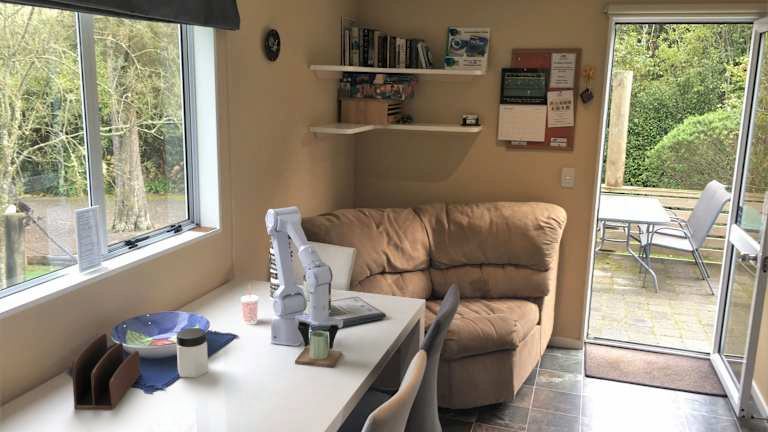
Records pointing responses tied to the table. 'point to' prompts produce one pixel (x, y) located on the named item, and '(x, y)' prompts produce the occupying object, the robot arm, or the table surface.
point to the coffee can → (307, 294)
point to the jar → (192, 352)
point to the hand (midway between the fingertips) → (318, 346)
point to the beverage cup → (250, 308)
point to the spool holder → (327, 362)
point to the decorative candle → (275, 271)
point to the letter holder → (103, 374)
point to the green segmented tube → (319, 345)
